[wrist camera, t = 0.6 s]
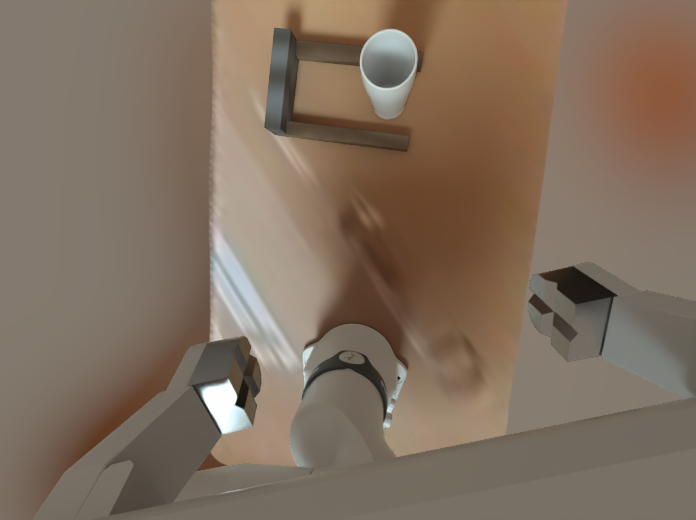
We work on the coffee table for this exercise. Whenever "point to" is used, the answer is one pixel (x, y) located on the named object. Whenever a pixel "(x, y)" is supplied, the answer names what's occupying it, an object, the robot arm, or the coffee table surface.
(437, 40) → the coffee table surface
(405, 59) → the drinking glass
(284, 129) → the guide track
